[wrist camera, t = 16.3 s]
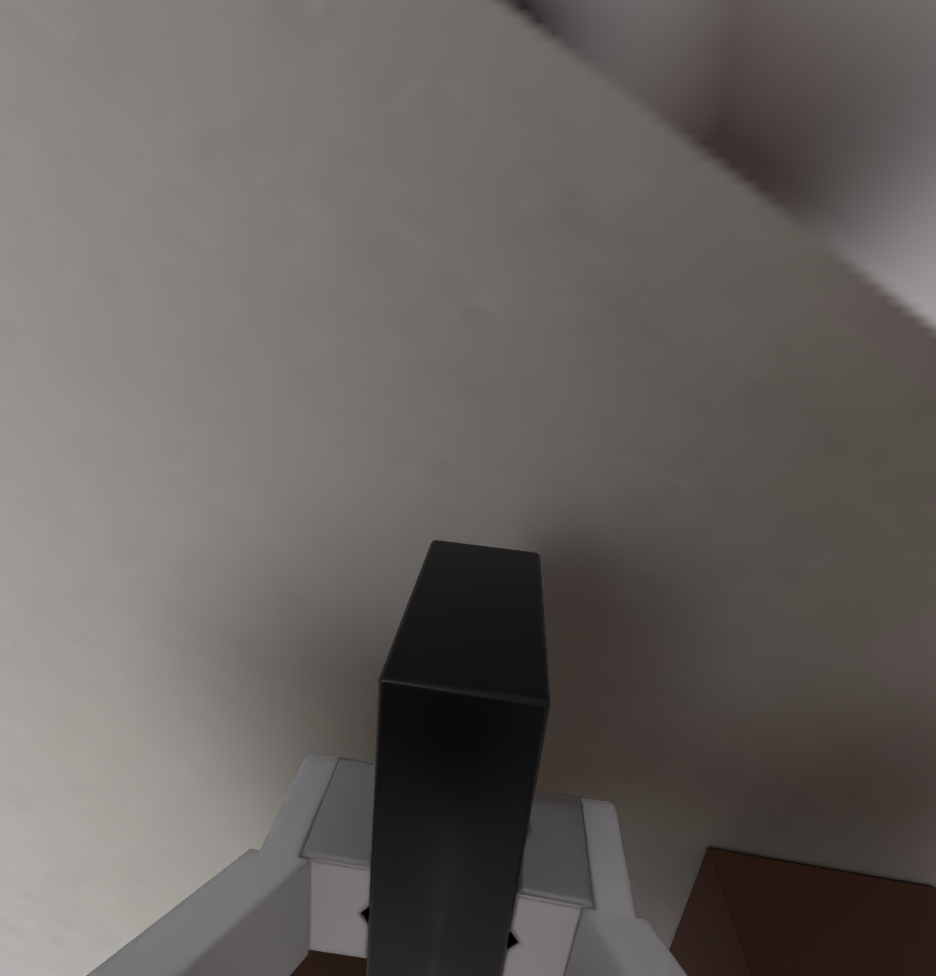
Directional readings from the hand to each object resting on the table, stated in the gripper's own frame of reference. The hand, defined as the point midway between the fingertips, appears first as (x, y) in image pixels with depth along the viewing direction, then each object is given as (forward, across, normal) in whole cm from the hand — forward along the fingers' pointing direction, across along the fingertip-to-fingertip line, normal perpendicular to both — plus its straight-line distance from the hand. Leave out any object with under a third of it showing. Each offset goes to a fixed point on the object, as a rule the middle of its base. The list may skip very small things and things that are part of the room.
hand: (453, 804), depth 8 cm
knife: (+2, 0, +6) cm, 6 cm away
